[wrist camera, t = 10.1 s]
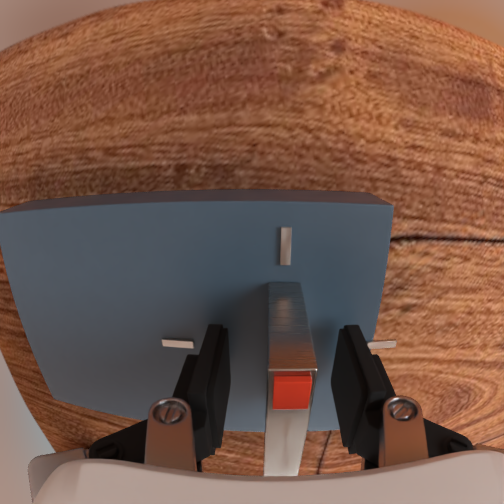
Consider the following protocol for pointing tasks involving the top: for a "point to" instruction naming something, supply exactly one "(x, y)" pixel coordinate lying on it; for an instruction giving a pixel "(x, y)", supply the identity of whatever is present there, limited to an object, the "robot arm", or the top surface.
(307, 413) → the lever
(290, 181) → the top surface
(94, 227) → the blue-grey rectangular block
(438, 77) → the top surface
